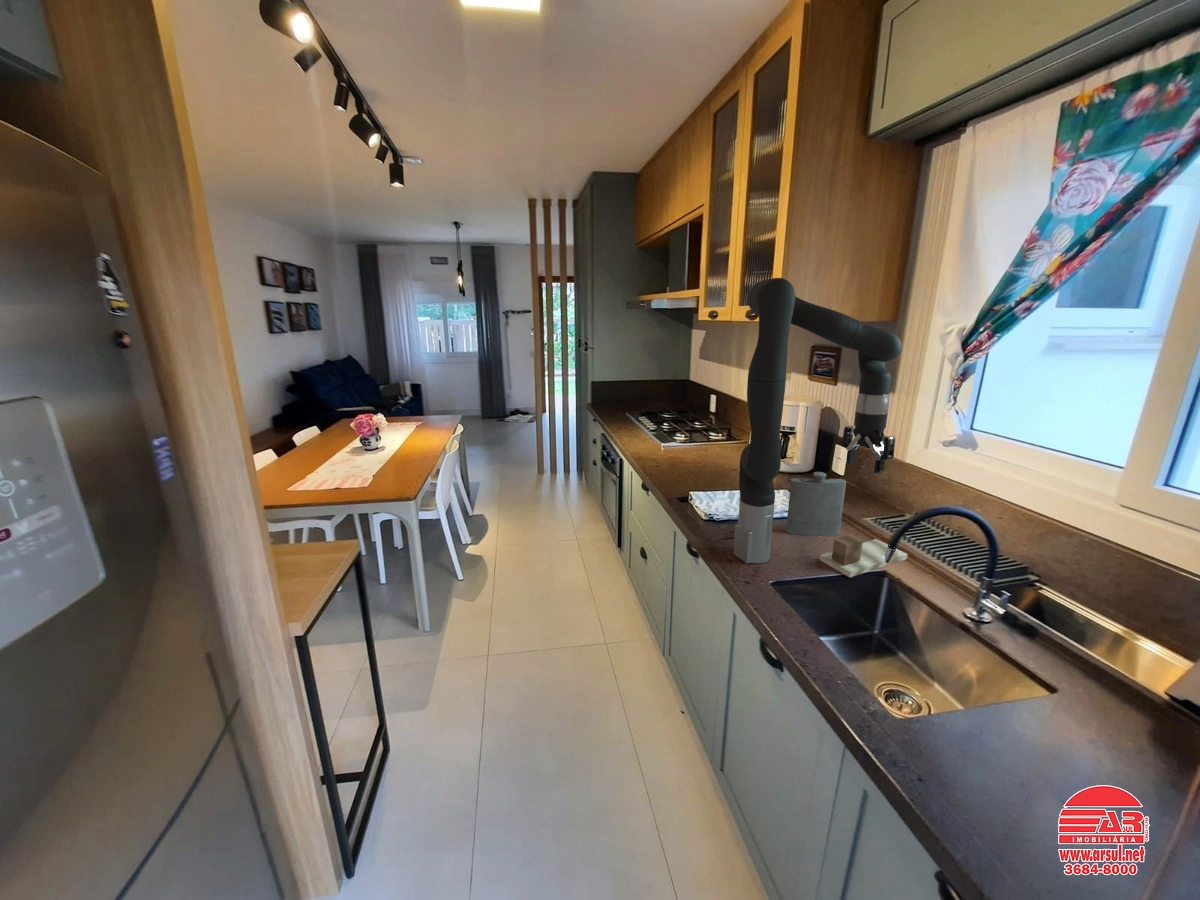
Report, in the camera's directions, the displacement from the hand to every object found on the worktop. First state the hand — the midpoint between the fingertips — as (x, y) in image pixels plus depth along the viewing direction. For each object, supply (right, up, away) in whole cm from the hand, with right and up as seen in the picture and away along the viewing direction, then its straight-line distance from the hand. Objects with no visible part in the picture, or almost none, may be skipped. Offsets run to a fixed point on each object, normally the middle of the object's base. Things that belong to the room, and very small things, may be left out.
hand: (864, 468), depth 133 cm
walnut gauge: (-5, -25, 0) cm, 26 cm away
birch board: (+2, -26, +3) cm, 26 cm away
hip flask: (-6, -21, +19) cm, 29 cm away
